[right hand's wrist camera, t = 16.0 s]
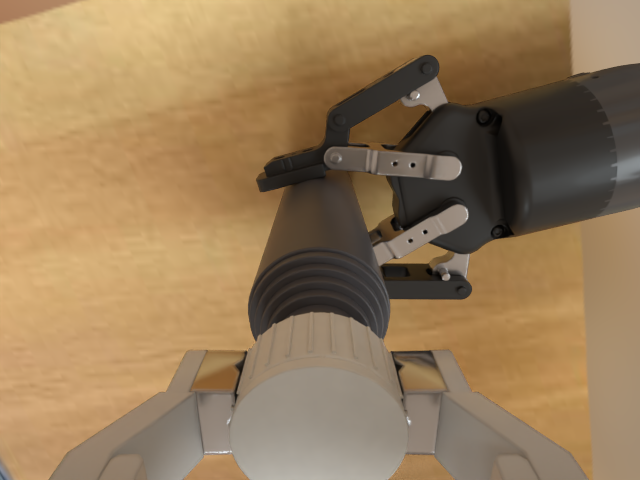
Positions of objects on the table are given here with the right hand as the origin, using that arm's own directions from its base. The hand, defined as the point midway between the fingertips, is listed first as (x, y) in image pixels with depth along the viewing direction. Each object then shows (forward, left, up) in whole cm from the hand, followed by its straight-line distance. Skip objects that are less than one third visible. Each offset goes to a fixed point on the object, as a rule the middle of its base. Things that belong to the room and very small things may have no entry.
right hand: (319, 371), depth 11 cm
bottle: (0, 0, -20) cm, 20 cm away
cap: (0, 0, +2) cm, 2 cm away
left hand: (-2, -2, -14) cm, 14 cm away
